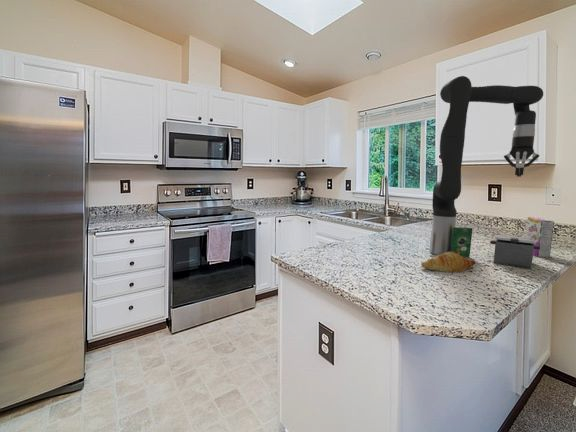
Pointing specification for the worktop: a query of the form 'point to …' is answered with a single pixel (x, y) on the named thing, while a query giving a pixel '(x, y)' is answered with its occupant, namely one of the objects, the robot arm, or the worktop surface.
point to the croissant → (448, 262)
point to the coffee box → (461, 241)
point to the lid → (515, 239)
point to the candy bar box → (540, 235)
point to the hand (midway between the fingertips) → (518, 176)
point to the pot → (514, 253)
